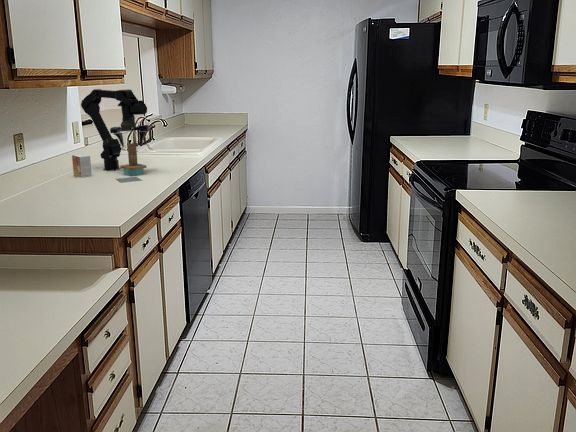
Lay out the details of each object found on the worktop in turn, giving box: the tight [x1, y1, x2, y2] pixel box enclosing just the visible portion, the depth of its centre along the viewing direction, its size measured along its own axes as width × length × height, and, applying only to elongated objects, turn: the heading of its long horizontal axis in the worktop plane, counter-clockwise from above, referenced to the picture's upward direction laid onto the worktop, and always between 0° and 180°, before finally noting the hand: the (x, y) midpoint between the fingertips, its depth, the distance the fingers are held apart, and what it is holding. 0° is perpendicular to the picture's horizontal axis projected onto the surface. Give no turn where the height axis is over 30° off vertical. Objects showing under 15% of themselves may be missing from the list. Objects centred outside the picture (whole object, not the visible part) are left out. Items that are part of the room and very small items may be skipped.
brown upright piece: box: [119, 143, 147, 170], centre depth 274 cm, size 9×9×12 cm
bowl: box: [123, 168, 145, 177], centre depth 276 cm, size 9×9×4 cm
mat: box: [115, 176, 143, 184], centre depth 263 cm, size 10×10×1 cm
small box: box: [71, 153, 93, 178], centre depth 271 cm, size 8×6×10 cm
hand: (132, 146), depth 280 cm, fingers open, 9 cm apart
